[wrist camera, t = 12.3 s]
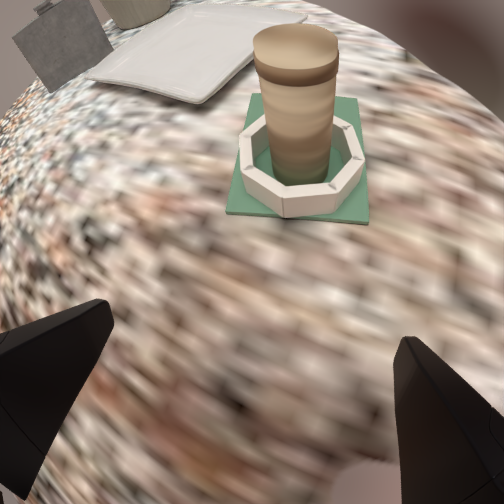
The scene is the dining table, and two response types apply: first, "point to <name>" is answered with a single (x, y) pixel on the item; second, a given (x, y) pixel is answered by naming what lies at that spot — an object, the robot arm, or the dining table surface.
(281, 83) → the tan tapered tumbler
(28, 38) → the hip flask
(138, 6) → the canister
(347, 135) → the octagonal cup coaster
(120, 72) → the square plate
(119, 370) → the dining table surface
